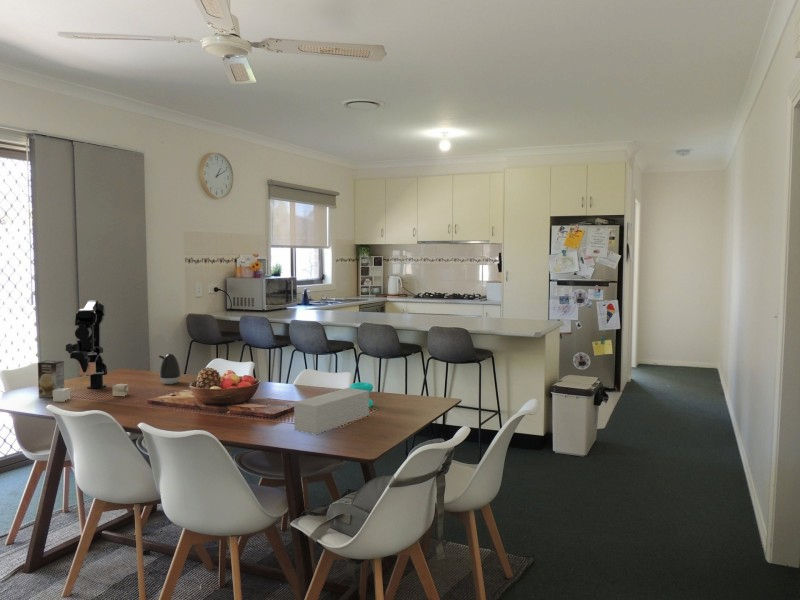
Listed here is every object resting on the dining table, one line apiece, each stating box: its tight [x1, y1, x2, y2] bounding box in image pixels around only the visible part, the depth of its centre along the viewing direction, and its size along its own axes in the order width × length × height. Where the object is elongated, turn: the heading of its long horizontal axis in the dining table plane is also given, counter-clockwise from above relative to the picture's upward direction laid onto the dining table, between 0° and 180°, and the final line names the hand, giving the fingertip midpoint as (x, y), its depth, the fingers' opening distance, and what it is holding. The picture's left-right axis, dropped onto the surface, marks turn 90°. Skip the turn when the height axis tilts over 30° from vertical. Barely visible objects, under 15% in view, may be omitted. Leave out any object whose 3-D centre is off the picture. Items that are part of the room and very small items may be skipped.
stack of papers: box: [293, 387, 370, 435], centre depth 245 cm, size 32×11×11 cm, turn 146°
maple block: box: [112, 383, 129, 397], centre depth 293 cm, size 5×5×5 cm
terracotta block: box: [78, 362, 96, 376], centre depth 288 cm, size 5×5×5 cm
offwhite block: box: [52, 387, 71, 402], centre depth 283 cm, size 5×5×5 cm
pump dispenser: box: [158, 353, 182, 385], centre depth 321 cm, size 10×10×15 cm
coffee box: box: [37, 359, 65, 398], centre depth 291 cm, size 9×6×16 cm
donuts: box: [349, 381, 374, 408], centre depth 272 cm, size 10×10×10 cm
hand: (87, 371), depth 288 cm, fingers closed on terracotta block, 5 cm apart
